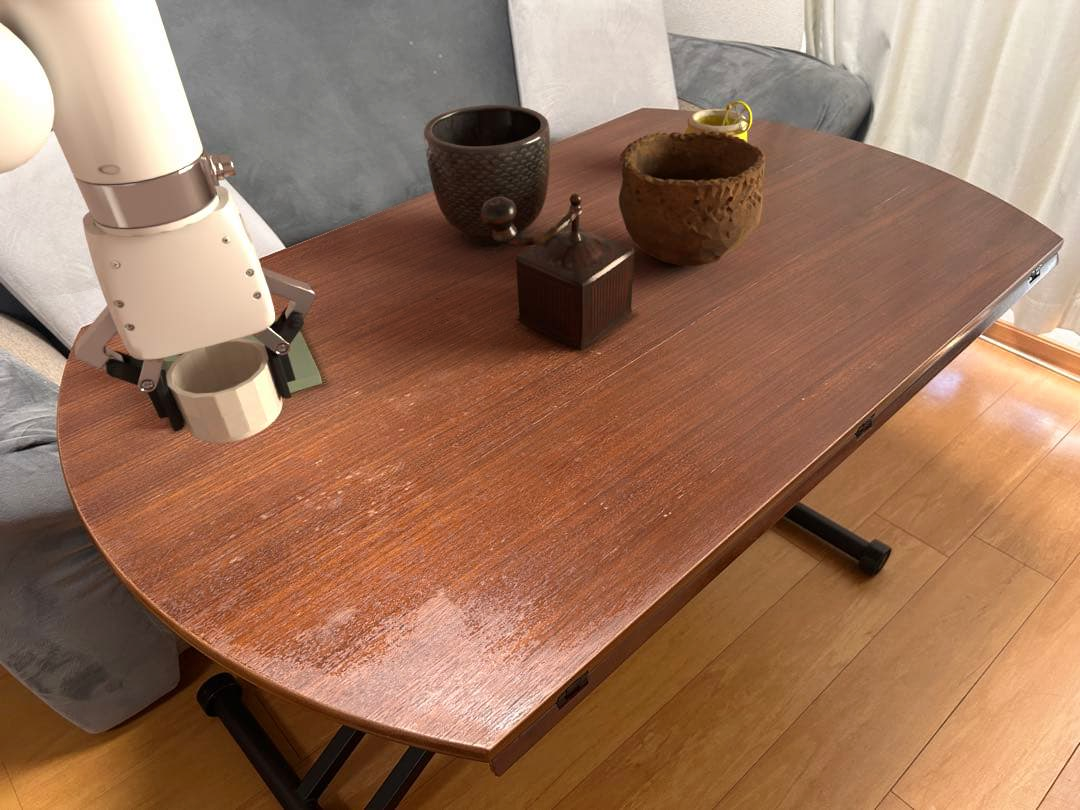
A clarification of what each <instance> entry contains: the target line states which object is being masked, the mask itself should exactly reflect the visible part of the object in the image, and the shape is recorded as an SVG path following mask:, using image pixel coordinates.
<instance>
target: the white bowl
mask: <svg viewBox="0 0 1080 810" xmlns="http://www.w3.org/2000/svg"><path fill="white" fill-rule="evenodd" d="M166 379H167V386H168V388H169V390H170V392H171V395H172V397H173V399H174V401H175V404H176V406H177V408H178V411H179V413H180V415H181V417H182V420H183V422H184V424H185V425H184V426H185V428H186V429H187V431H188V432H189V434H190V435H191V436H192V437H194V438H195V439H197V440H199V441H201V442H205V443H211V444H226V443H227V444H228V443H234V442H238V441H242V440H244V439H245V440H246V439H247V438H250V437H253V436H255V435H256V434H258V433H261V432H262V431H264V430H265V429H266V428H268V427H270V426H271V425H272V424H273V423H274V422H275V421H276V419H278V418H279V416H280V414H281V412H282V409H283V406H284V405H283V402H284V401H283V398H282V396H281V393H280V390H279V387H278V384H277V381H276V378H275V375H274V372H273V369H272V366H271V363H270V359H269V356H268V354H267V351H266V348H265V347H263V346H262V345H260V344H259V343H257V342H256V341H252V340H247V339H242V338H239V339H235V340H232V341H228V342H224V343H220V344H217V345H213V346H209V347H205V348H202V349H198V350H194V351H190V352H186V353H184V354H183V355H181V356H180V357H179V358H178V359H177V360H175V361H174V362H173V363H172V364H171V366H170V368H169V370H168V372H167V374H166Z"/></svg>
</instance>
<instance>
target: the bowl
mask: <svg viewBox="0 0 1080 810" xmlns="http://www.w3.org/2000/svg"><path fill="white" fill-rule="evenodd" d="M619 161H621V163H622V168H621V174H622V183H621V187H620V190H619V195H618V206H619V210H620V213H621V217H622V220H623V223H624V226H625V229H626V231H627V233H628V235H629V236H630V237H631V239H632V241H633V242H634V243H635V244H636V245H637V247H639V249H640V250H642V251H643V252H644V253H645V254H648V255H650V256H652V257H654V258H656V259H657V260H660V261H661V262H664V263H665V264H666V263H667V264H671V265H679V266H686V267H687V266H688V267H690V266H703V265H704V266H705V265H711V264H713V263H716V262H718V261H720V260H722V259H724V258H725V257H726V256H728V255H729V254H731V253H732V252H733V251H735V250H736V249H737V248H738V247H739V246H740V245H741V244H742V243H744V241H745V240H747V238H748V237H749V236H751V234H752V233H753V232H754V231H755V229H756V228H757V227H758V226H759V225H760V222H761V216H762V212H763V205H764V196H763V195H764V194H763V183H764V177H765V176H764V175H765V167H766V156H765V154H764V153H763V152H762V150H761V149H760V148H759V147H758V146H754V145H752V144H750V143H749V142H748V141H747V142H746V141H745V140H744V139H740V138H739V137H734V136H733V134H732V135H727V134H726V133H725V132H724V133H718V132H709V131H702V132H701V133H687V134H685V133H682V132H679V131H676V132H671V133H666V132H662V133H660V132H655V133H649V134H646V135H643V136H642V137H638V138H636V140H633V142H630V143H628V144H627V146H626V147H625V148H624V149H623V150H622V152H621V153H620V156H619Z"/></svg>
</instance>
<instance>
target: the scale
mask: <svg viewBox="0 0 1080 810" xmlns="http://www.w3.org/2000/svg"><path fill="white" fill-rule="evenodd" d="M277 320H278V318H275V321H277ZM242 339H247V340H252V341H256V342H257V343H259V344H260V345H262V346H263V347H265V345H264V344H263V343H262V342H261V341H259V340H258V339H257V338H256V337H254V336H253V335H250V336H246V337H243V338H242ZM180 356H181V355H174V356H171V357H166V358H164V361H163V365H162V370H163V369H165V371H166V373H167V372H168V370H169V368H170V366H171V364H172V363H173V362H174V361H175V360H177V359H178V358H179V357H180ZM288 356H289V359H290V362H291V366H292V369H293V372H294V375H295V379H296V380H295V381H291V382H288V383H287V384H288V387H289V390H290V393H291V394H292V393H295V392H298V391H302V390H305V389H309V388H312V387H315V386H319V385H322V384H323V381H322V377H321V374H320V371H319V369H318V367H317V365H316V363H315V360H314V359H313V358H314V357H313V356H312V354H311V351H310V349H309V346H308V345H307V343H306V340H305V338H304V335H303V334H302V331H301V330H300V331H299V332H298V334H297V335H296V337H295V338H294V340H293V341H292V342H291V344H290V351H289V352H288ZM184 426H185V424H184Z"/></svg>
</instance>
